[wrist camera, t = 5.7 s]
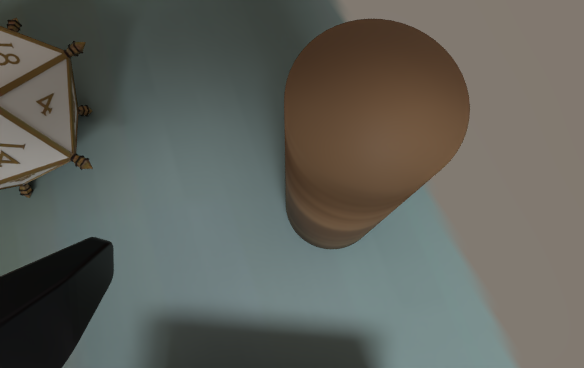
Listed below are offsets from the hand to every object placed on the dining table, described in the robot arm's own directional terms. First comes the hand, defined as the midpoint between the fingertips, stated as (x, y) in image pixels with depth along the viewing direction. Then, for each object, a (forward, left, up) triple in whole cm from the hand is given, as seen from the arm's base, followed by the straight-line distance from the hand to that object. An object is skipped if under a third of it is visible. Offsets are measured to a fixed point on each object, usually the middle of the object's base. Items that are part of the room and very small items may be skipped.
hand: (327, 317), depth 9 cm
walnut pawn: (+5, -1, -13) cm, 14 cm away
